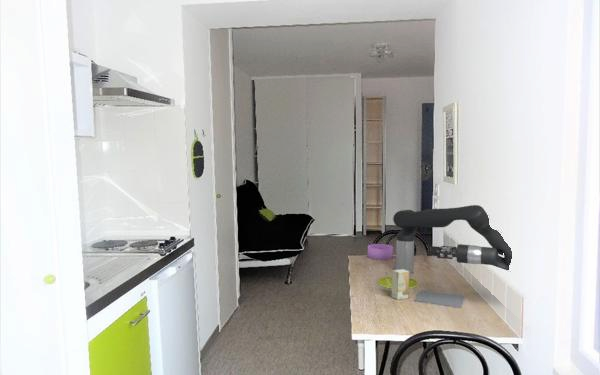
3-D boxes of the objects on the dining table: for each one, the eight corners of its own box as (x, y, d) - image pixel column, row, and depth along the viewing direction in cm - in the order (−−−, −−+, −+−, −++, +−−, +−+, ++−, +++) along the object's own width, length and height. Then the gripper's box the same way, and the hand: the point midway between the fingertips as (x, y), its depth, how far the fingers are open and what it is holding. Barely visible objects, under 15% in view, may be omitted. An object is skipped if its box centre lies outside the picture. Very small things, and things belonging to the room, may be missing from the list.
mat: (421, 290, 208) (421, 289, 208) (464, 296, 200) (464, 295, 200) (414, 301, 194) (414, 300, 194) (460, 308, 186) (460, 307, 186)
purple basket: (366, 259, 270) (367, 237, 269) (368, 253, 284) (368, 232, 283) (409, 261, 264) (410, 239, 263) (409, 255, 279) (409, 234, 278)
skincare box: (397, 300, 195) (398, 272, 194) (391, 297, 199) (391, 270, 198) (409, 298, 198) (409, 270, 197) (402, 295, 202) (403, 268, 201)
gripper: (471, 242, 190) (432, 239, 197) (467, 248, 178) (426, 244, 185) (471, 259, 191) (431, 255, 198) (467, 267, 178) (425, 262, 185)
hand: (429, 250), depth 191 cm, fingers open, 8 cm apart
